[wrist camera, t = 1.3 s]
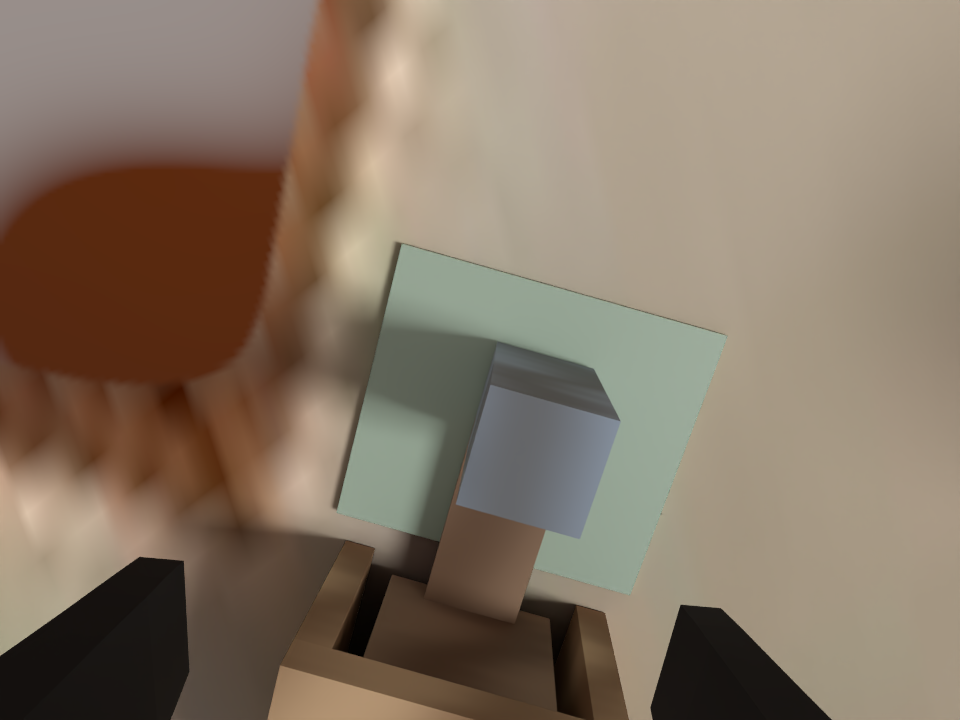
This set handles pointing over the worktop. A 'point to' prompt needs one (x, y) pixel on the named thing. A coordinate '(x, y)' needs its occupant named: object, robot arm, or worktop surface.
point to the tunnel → (417, 697)
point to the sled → (503, 531)
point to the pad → (459, 386)
